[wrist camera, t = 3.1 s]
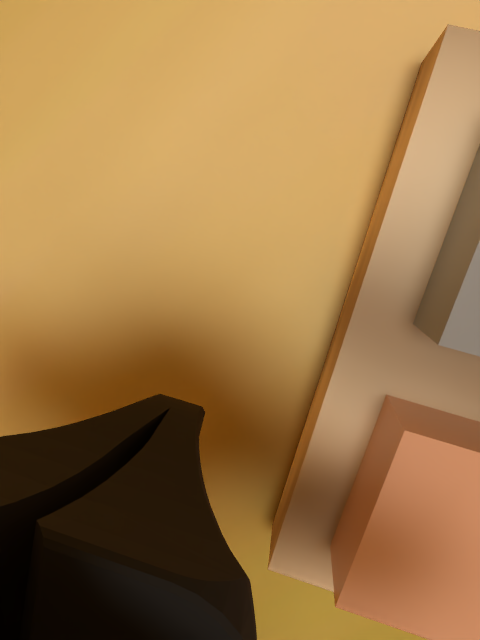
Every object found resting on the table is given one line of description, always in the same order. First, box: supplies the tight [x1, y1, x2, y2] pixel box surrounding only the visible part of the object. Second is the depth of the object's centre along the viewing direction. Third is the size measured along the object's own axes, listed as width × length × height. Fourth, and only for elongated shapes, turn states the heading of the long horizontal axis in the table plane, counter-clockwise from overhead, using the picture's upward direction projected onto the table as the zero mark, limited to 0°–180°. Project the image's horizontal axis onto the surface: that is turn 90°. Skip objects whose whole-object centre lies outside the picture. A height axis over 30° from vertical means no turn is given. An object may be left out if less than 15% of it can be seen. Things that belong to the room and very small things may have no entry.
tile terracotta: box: [330, 394, 480, 640], centre depth 10 cm, size 5×5×2 cm
